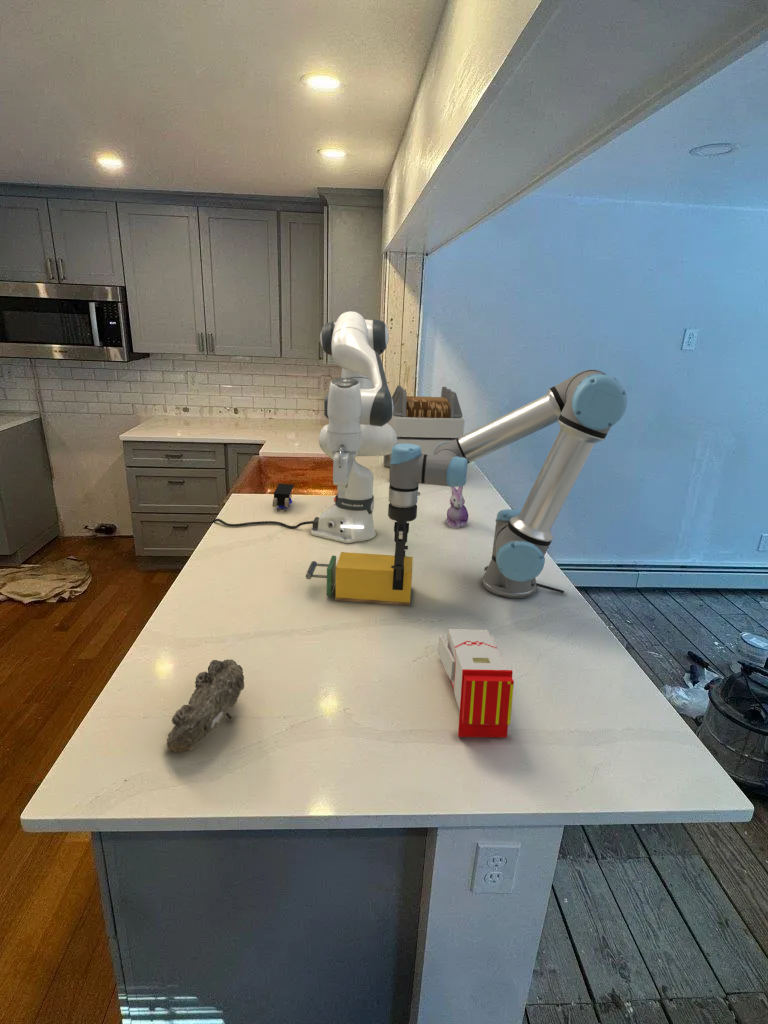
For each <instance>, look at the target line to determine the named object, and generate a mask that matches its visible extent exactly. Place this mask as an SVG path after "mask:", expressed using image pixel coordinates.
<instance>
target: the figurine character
mask: <svg viewBox="0 0 768 1024" xmlns="http://www.w3.org/2000/svg"><path fill="white" fill-rule="evenodd" d="M294 487H295V485H294V484H292V483H278V484H277V486H276V489H275V490H274V492H273V498H272V507H274V508H276V511H278V512H279V511H280V509H284V510H283V511H284V512H286V511H287V508H289V507H290V505H291V504H292V503H293V501H292V499H293V495H292V492H293V489H294Z"/></svg>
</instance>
